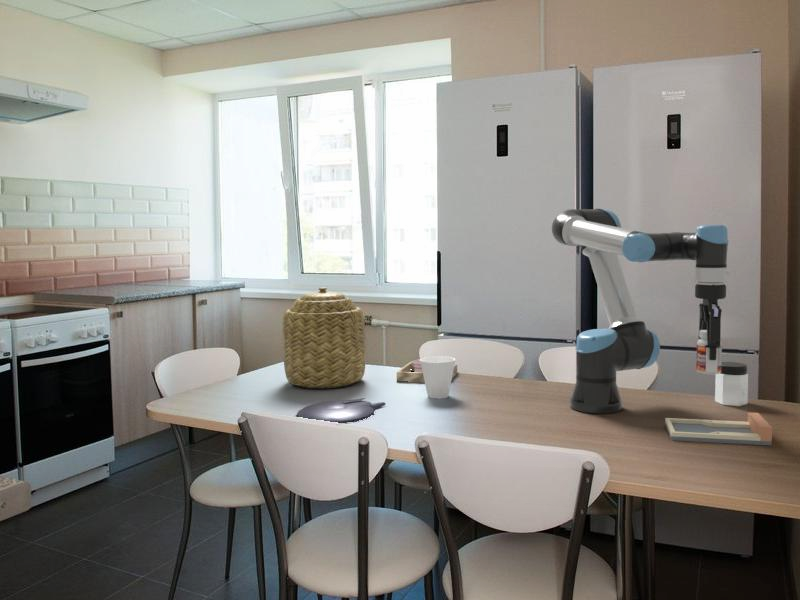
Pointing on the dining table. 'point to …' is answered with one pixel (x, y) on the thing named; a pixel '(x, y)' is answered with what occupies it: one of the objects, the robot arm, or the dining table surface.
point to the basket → (324, 341)
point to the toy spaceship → (340, 410)
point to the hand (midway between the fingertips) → (708, 369)
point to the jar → (732, 384)
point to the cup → (437, 375)
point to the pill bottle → (702, 354)
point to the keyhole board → (721, 430)
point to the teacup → (416, 365)
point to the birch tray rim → (414, 374)
